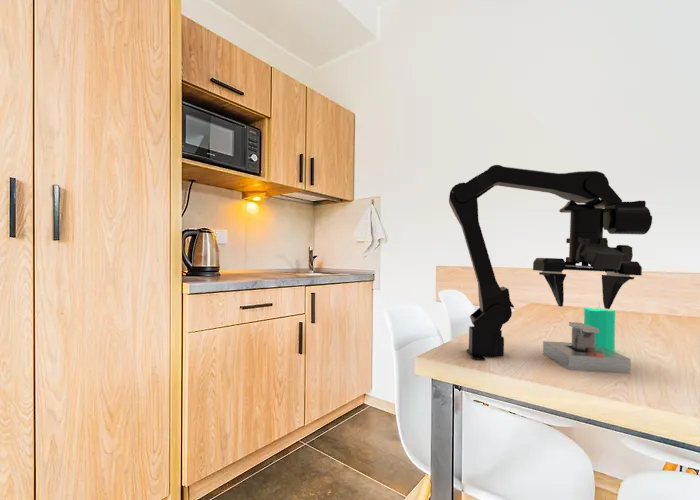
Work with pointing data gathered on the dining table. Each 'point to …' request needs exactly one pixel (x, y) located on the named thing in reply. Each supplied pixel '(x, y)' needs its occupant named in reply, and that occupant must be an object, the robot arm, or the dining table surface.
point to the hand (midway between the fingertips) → (583, 307)
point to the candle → (602, 326)
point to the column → (583, 336)
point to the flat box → (586, 358)
